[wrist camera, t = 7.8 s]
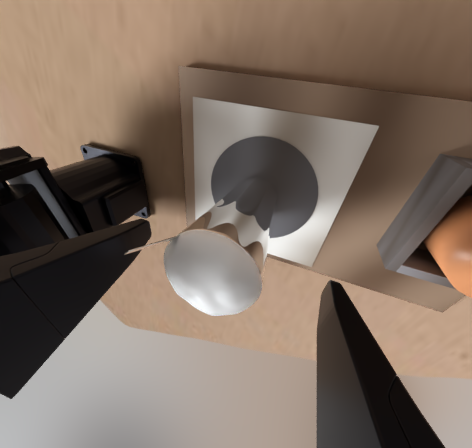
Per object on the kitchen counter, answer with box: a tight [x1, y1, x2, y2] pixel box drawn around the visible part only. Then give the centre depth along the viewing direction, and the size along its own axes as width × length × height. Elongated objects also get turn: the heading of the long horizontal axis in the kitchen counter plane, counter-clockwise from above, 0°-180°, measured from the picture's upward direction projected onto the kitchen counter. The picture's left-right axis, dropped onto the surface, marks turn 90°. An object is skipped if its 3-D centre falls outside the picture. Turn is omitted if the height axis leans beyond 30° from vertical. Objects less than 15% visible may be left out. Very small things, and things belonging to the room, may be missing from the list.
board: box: [179, 66, 472, 312], centre depth 13 cm, size 22×13×3 cm, turn 84°
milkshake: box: [123, 177, 278, 316], centre depth 11 cm, size 5×5×10 cm
